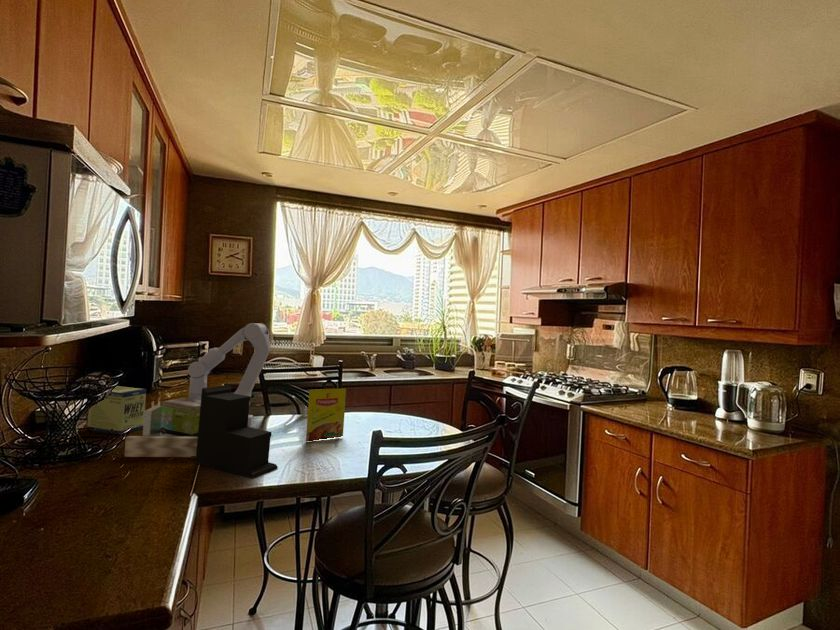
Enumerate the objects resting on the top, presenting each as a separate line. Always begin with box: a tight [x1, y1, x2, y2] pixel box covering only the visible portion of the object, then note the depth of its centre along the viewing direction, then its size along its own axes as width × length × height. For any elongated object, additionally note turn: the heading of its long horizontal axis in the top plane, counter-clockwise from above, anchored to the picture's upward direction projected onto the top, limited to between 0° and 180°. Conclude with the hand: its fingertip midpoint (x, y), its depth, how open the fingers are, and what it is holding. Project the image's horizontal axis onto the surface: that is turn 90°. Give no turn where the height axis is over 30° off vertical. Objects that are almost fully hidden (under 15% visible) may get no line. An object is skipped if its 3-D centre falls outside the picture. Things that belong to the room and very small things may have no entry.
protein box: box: [86, 385, 147, 435], centre depth 165 cm, size 10×16×16 cm
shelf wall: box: [124, 435, 198, 458], centre depth 140 cm, size 26×2×6 cm, turn 101°
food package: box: [305, 388, 347, 442], centre depth 169 cm, size 15×1×20 cm, turn 126°
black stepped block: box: [195, 384, 278, 479], centre depth 134 cm, size 23×11×24 cm, turn 66°
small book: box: [142, 405, 162, 436], centre depth 144 cm, size 2×9×14 cm, turn 11°
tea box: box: [160, 397, 201, 437], centre depth 154 cm, size 15×10×15 cm, turn 72°
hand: (194, 429), depth 163 cm, fingers closed
